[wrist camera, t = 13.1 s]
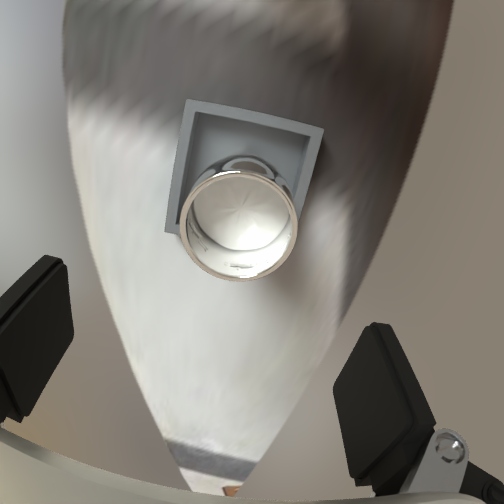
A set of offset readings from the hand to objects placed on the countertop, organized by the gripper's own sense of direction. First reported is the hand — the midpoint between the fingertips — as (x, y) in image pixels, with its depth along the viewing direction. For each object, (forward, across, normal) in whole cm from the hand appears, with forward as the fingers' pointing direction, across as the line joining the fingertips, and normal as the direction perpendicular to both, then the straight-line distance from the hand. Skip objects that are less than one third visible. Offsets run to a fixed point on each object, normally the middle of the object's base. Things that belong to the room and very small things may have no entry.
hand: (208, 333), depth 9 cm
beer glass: (+24, -1, +1) cm, 24 cm away
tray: (+25, 0, +1) cm, 25 cm away
